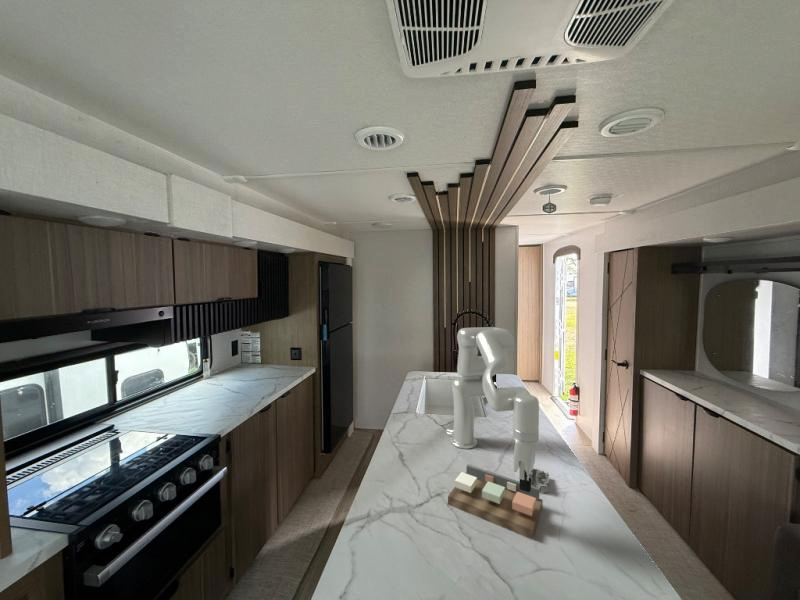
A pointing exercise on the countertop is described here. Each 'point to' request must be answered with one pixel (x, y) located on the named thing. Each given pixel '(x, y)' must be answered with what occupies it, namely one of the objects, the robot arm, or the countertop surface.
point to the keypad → (494, 511)
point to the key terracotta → (524, 503)
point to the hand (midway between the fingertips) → (525, 489)
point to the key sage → (493, 492)
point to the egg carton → (540, 479)
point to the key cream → (465, 482)
